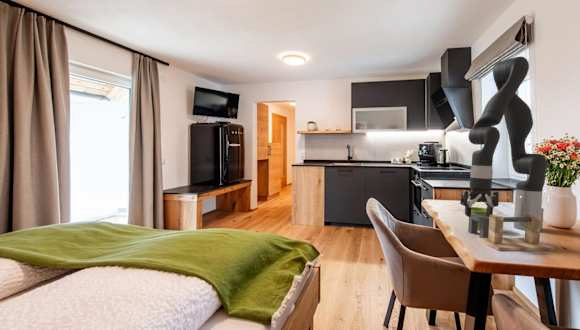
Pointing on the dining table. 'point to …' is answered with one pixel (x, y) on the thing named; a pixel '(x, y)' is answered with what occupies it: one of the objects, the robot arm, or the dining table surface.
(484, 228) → the rubber u
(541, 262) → the dining table surface
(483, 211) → the plant pot
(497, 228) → the bar rack
